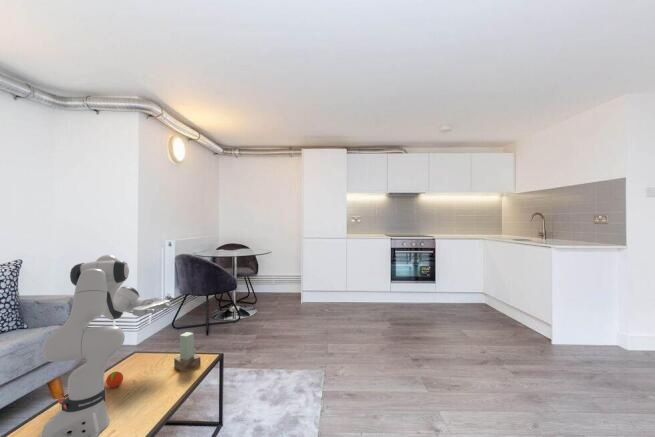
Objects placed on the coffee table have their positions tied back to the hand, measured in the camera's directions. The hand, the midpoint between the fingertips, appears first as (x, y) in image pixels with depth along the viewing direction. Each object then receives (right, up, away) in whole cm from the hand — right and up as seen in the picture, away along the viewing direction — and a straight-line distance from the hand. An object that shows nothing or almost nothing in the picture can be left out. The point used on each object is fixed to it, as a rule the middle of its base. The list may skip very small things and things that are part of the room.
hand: (162, 308), depth 173 cm
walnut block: (+14, -31, 0) cm, 34 cm away
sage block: (+14, -27, 0) cm, 30 cm away
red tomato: (-12, -32, -21) cm, 40 cm away
